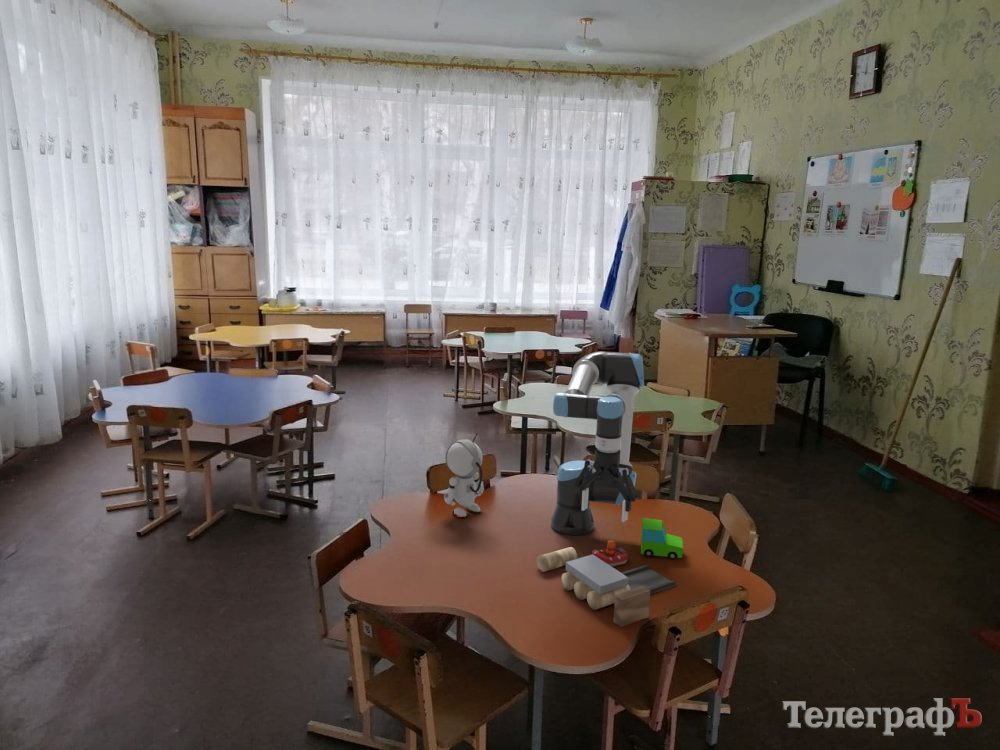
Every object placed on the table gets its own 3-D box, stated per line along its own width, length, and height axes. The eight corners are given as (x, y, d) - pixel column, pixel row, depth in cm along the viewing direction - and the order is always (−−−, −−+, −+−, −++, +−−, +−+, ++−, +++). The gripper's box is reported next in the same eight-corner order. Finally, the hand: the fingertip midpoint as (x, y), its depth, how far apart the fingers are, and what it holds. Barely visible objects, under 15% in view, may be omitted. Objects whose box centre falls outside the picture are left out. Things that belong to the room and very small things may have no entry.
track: (561, 585, 210) (562, 561, 208) (637, 561, 226) (638, 538, 224) (617, 628, 189) (619, 601, 187) (697, 598, 204) (699, 573, 203)
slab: (565, 569, 209) (566, 562, 209) (592, 561, 214) (592, 554, 214) (600, 594, 196) (600, 586, 195) (627, 585, 201) (628, 577, 201)
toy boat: (587, 560, 226) (588, 538, 225) (617, 554, 231) (619, 532, 229) (599, 571, 220) (600, 548, 218) (631, 564, 224) (632, 542, 223)
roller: (545, 574, 217) (546, 559, 216) (536, 567, 221) (537, 552, 220) (576, 565, 223) (577, 550, 222) (567, 558, 227) (568, 544, 226)
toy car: (682, 563, 226) (685, 534, 223) (640, 558, 228) (642, 529, 226) (681, 549, 235) (683, 521, 233) (640, 544, 238) (642, 516, 236)
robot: (482, 506, 267) (484, 430, 262) (481, 519, 254) (482, 440, 249) (447, 505, 267) (447, 429, 262) (443, 518, 254) (443, 439, 249)
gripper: (565, 443, 216) (562, 508, 221) (641, 461, 202) (636, 529, 207) (577, 437, 222) (574, 500, 227) (652, 454, 208) (647, 521, 213)
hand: (604, 514), depth 217 cm, fingers open, 13 cm apart
